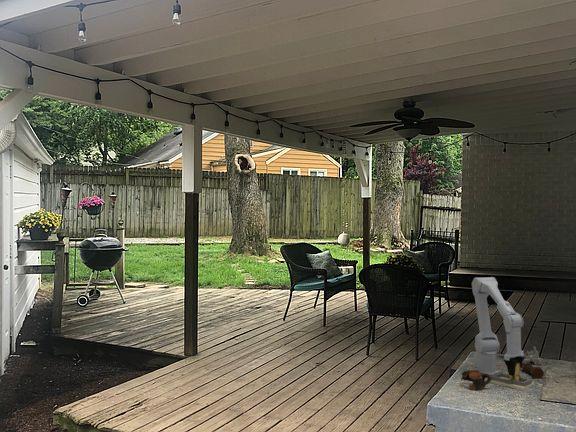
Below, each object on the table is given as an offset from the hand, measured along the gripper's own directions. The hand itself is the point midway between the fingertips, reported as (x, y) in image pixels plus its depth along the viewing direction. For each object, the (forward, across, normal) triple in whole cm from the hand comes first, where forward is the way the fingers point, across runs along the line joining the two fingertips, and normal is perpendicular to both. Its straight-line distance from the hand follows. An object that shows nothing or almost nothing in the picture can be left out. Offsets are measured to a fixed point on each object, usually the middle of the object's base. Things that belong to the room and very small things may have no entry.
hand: (514, 374), depth 232 cm
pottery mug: (+5, -16, +9) cm, 19 cm away
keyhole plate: (+4, 0, +2) cm, 4 cm away
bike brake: (+5, +40, +16) cm, 44 cm away
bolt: (+5, +21, +2) cm, 22 cm away
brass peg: (+3, 0, 0) cm, 3 cm away
